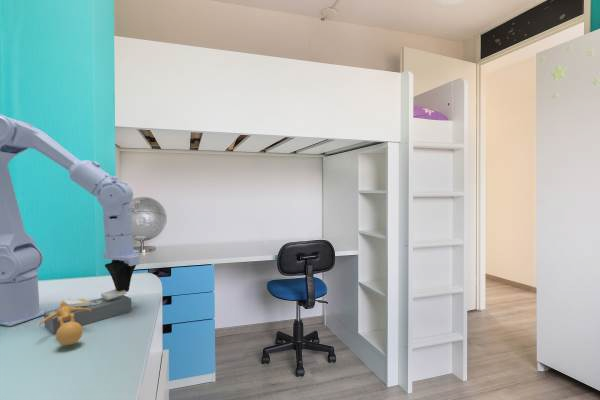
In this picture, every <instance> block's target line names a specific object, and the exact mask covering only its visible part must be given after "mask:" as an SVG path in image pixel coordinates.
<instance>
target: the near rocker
mask: <svg viewBox="0 0 600 400" xmlns="http://www.w3.org/2000/svg"><path fill="white" fill-rule="evenodd" d="M89 301H90V300H87V299H85V298H78V299H76V298H75V299H67V300H66V299H65V300H62V302H66V304H67V305H68V306H69V307H76V308H78V307H81V306H88V305H90V302H89Z"/></svg>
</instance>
